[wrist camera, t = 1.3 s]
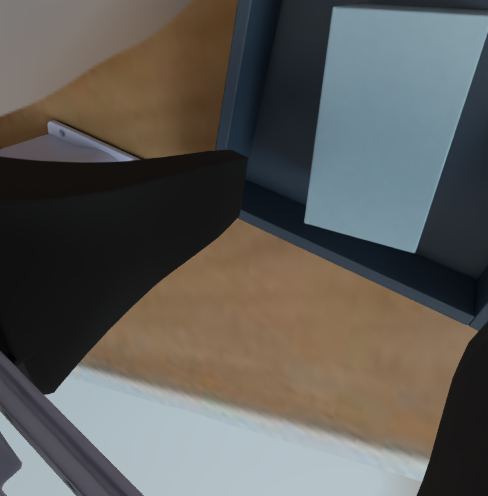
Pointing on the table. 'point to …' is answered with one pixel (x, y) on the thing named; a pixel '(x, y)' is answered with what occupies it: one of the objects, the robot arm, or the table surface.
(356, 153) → the light blue case
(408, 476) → the table surface
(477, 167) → the storage box
